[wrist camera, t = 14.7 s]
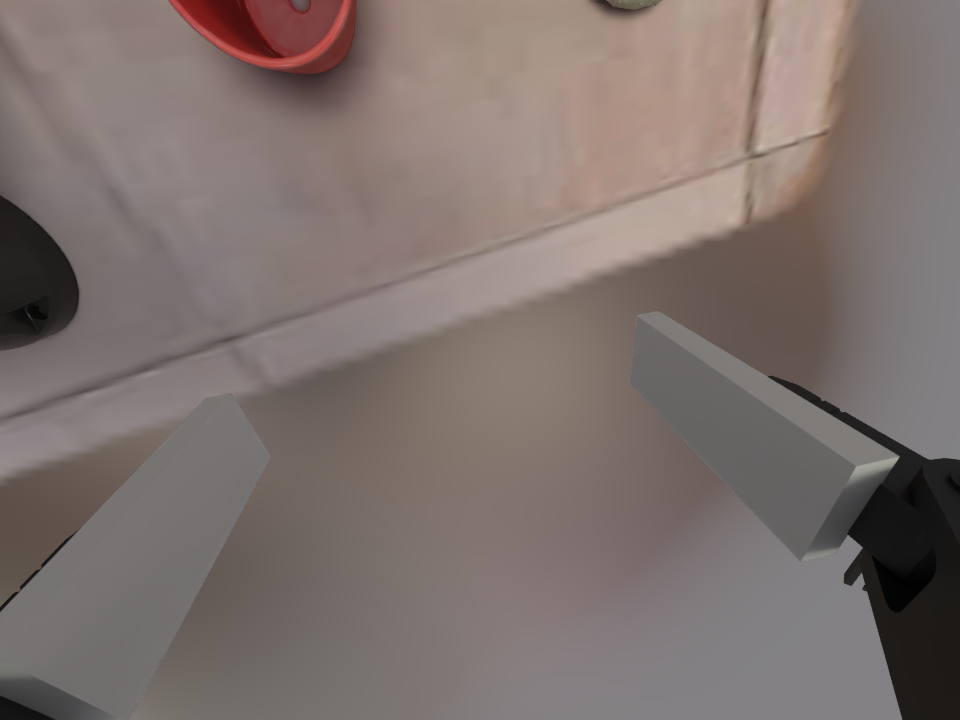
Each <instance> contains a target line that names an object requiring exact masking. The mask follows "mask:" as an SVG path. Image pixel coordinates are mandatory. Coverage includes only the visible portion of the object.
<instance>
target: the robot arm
mask: <svg viewBox="0 0 960 720" xmlns="http://www.w3.org/2000/svg"><path fill="white" fill-rule="evenodd" d="M76 306H77V287H76V283H75V279H74V276H73V273H72V271H71V269H70V267H69V265H68V263H67V261H66V259H65V258H64V256H63V254H62V253H61V252H60V250H59V249H58V247H57V246H56V245H55V243H54V242H53V241H52V240H51V239H50V238H49V236H48V235H47V234H46V233H45V232H44V231H43V230H42V229H41V228H40V227H39V226H38V225H37V224H36V223H35V222H34V221H32V220H31V219H30V218H29V217H28V216H27V215H25V214H24V213H23V212H22V211H20V210H19V209H18V208H16V207H15V206H13V205H12V204H11V203H9V202H8V201H6V200H5V199H3V198H2V197H0V351H2V350H9V349H14V348H19V347H22V346H26V345H29V344H32V343H34V342H36V341H39V340H41V339H43V338H46V337H48V336H50V335H52V334H54V333H56V332H58V331H60V330H61V329H62V328H64V327H65V326H66V325H67V324H68V323H69V321H70V320H71V319H72V317H73V315H74V313H75V310H76ZM630 385H631V386H632V387H633V388H634V389H635V390H636V391H637V392H638V393H639V394H640V395H641V396H642V398H644V400H645V401H646V402H647V403H648V404H649V405H650V406H651V407H652V408H653V409H654V410H655V411H656V412H657V413H658V414H659V415H660V416H661V417H662V418H663V419H664V420H665V421H666V422H667V424H668V425H669V426H670V427H671V428H672V429H673V430H674V431H675V432H676V433H677V434H678V435H679V436H680V437H681V438H682V439H683V440H684V441H685V442H686V443H687V444H688V445H689V446H690V447H691V448H692V449H693V451H694V452H695V453H696V454H697V455H698V456H699V457H700V458H701V459H702V460H703V461H704V462H705V463H706V464H707V465H708V466H709V467H710V468H711V469H712V470H713V471H714V472H715V473H716V474H717V476H718V477H719V478H720V479H721V480H723V482H724V483H725V484H726V485H727V486H728V487H729V488H730V489H731V490H732V491H733V492H734V493H735V494H736V495H737V496H738V497H739V498H740V499H741V500H742V501H743V503H744V504H745V505H746V506H747V507H748V508H749V509H750V510H751V511H752V512H753V513H754V514H755V515H756V516H757V517H758V518H759V519H760V520H761V521H762V522H763V523H764V524H765V525H766V526H767V527H768V529H769V530H771V532H772V533H773V534H774V535H775V536H776V537H777V538H778V539H779V540H780V541H781V542H782V543H783V544H784V545H785V546H786V547H787V548H788V549H789V550H790V551H791V552H792V554H794V556H795V557H796V558H797V559H798V560H799V561H800V562H802V561H806V560H810V559H814V558H818V557H822V556H827V555H831V554H835V553H836V552H837V550H838V549H839V547H840V546H841V544H842V543H843V541H844V540H845V538H846V537H847V535H849V536H850V537H851V538H853V539H854V540H855V541H856V542H857V543H858V544H860V545H861V546H862V547H863V549H862V550H861V551H860V553H859V554H858V555H857V557H856V558H855V560H854V561H853V563H852V564H851V565H850V566H849V568H848V569H847V571H846V572H845V574H844V583H845V584H847V585H850V586H852V584H853V583H854V582H855V580H856V579H857V578H858V576H859V575H860V574H861V573H862V574H863V578H864V582H865V585H864V587H863V590H864V591H867V593H868V596H869V600H870V603H871V607H872V611H873V614H874V618H875V621H876V625H877V629H878V632H879V636H880V640H881V644H882V647H883V651H884V654H885V658H886V662H887V665H888V669H889V673H890V676H891V680H892V684H893V687H894V691H895V695H896V698H897V702H898V705H899V709H900V713H901V716H902V720H960V460H956V459H948V458H942V459H934V460H929V459H927V458H924V457H923V456H921V455H919V454H917V453H916V452H914V451H912V450H910V449H909V448H907V447H905V446H903V445H902V444H900V443H898V442H896V441H895V440H893V439H891V438H889V437H888V436H886V435H884V434H882V433H881V432H879V431H877V430H876V429H874V428H872V427H870V426H869V425H867V424H865V423H863V422H862V421H860V420H858V419H856V418H855V417H853V416H851V415H849V414H848V413H846V412H841V411H840V409H839V408H837V407H835V406H834V405H832V404H830V403H828V402H826V401H821V398H819V397H818V396H816V395H814V394H813V393H811V392H809V391H808V390H806V389H804V388H802V387H800V386H799V385H796V384H793V383H791V382H788V381H785V380H782V379H779V378H777V377H774V376H768V377H767V376H765V375H763V374H762V373H760V372H758V371H757V370H755V369H753V368H752V367H750V366H748V365H747V364H745V363H743V362H742V361H740V360H738V359H737V358H735V357H733V356H732V355H730V354H728V353H727V352H725V351H723V350H722V349H720V348H718V347H717V346H715V345H713V344H712V343H710V342H708V341H707V340H705V339H703V338H702V337H700V336H698V335H697V334H695V333H694V332H692V331H690V330H689V329H687V328H685V327H684V326H682V325H680V324H678V323H677V322H675V321H674V320H672V319H670V318H669V317H667V316H665V315H664V314H662V313H660V312H659V311H657V312H651V313H647V314H641V315H636V321H635V331H634V342H633V352H632V362H631V373H630ZM270 458H271V456H270V455H269V453H268V451H267V450H266V448H265V447H264V445H263V444H262V442H261V440H260V439H259V437H258V435H257V434H256V432H255V431H254V429H253V427H252V426H251V424H250V423H249V421H248V420H247V418H246V416H245V415H244V413H243V411H242V410H241V408H240V407H239V405H238V403H237V402H236V400H235V399H234V397H233V395H232V394H231V393H230V394H225V395H220V396H215V397H210V398H206V399H205V400H204V401H203V402H202V403H201V404H200V405H199V406H198V407H197V408H196V409H195V410H194V411H193V412H192V413H191V414H190V415H189V416H188V417H187V418H186V419H185V421H184V422H183V423H182V424H181V425H180V426H179V427H178V428H177V429H176V430H175V431H174V432H173V433H172V434H171V435H170V436H169V437H168V438H167V439H166V440H165V441H164V443H162V444H161V445H160V447H159V448H158V449H157V450H156V451H155V452H154V453H153V454H152V455H151V456H150V457H149V458H148V459H147V460H146V461H145V462H144V463H143V464H142V465H141V466H140V467H139V468H138V470H136V471H135V473H134V474H133V475H132V476H131V477H130V478H129V479H128V480H127V481H126V482H125V483H124V484H123V485H122V486H121V487H120V488H119V489H118V490H117V491H116V492H115V493H114V494H113V495H112V496H111V498H110V499H109V500H108V501H107V502H106V503H105V504H104V505H103V506H102V507H101V508H100V509H99V510H98V511H97V512H96V513H95V514H94V516H92V517H91V518H90V520H89V521H88V522H87V523H85V525H84V526H83V527H82V528H80V529H79V530H78V531H77V532H75V533H74V534H73V535H71V536H70V537H69V538H67V539H66V540H65V541H64V542H63V543H62V544H61V545H60V546H59V547H58V548H57V549H56V550H55V551H54V552H53V553H52V554H51V555H50V556H49V557H48V558H47V560H46V561H45V562H44V563H43V564H42V565H41V566H42V567H41V569H40V570H36V571H35V572H34V573H33V574H32V575H31V576H30V577H29V578H28V579H27V580H26V581H25V582H24V583H23V584H22V585H21V586H20V591H19V592H15V593H14V594H12V596H11V597H10V598H9V599H8V600H7V601H6V602H5V603H4V604H3V605H2V606H1V607H0V720H130V718H131V716H132V714H133V713H134V711H135V709H136V707H137V705H138V703H139V701H140V700H141V698H142V696H143V694H144V692H145V690H146V688H147V686H148V685H149V683H150V681H151V679H152V677H153V675H154V674H155V672H156V670H157V668H158V666H159V664H160V662H161V660H162V658H163V657H164V655H165V653H166V651H167V649H168V647H169V646H170V644H171V642H172V640H173V638H174V636H175V634H176V633H177V631H178V629H179V627H180V625H181V623H182V621H183V619H184V618H185V616H186V614H187V612H188V610H189V608H190V606H191V605H192V603H193V601H194V599H195V597H196V595H197V593H198V592H199V590H200V588H201V586H202V584H203V582H204V580H205V579H206V576H207V575H208V573H209V571H210V569H211V567H212V566H213V564H214V562H215V560H216V558H217V556H218V554H219V552H220V551H221V549H222V547H223V545H224V543H225V541H226V539H227V537H228V536H229V534H230V532H231V530H232V528H233V526H234V524H235V523H236V521H237V519H238V517H239V515H240V513H241V512H242V509H243V508H244V506H245V504H246V502H247V500H248V499H249V497H250V495H251V493H252V491H253V489H254V487H255V485H256V484H257V482H258V480H259V478H260V476H261V474H262V472H263V471H264V469H265V467H266V465H267V463H268V461H269V459H270Z"/></svg>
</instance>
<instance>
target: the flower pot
mask: <svg viewBox="0 0 960 720" xmlns="http://www.w3.org/2000/svg"><path fill="white" fill-rule="evenodd" d="M168 1H169V2H170V4H171V5H172V6H173V7H174V8H175V10H176V11H177V12H178V13H179V14H180V15H181V16H182V18H183V19H184V20H185V21H186V22H187V23H188V24H189V25H190V26H191V27H192V28H193V29H194V30H196V31H197V32H198V33H199V34H200V35H201V36H202V37H204V38H205V39H206V40H208V41H209V42H210V43H211V44H213V45H214V46H216V47H217V48H219V49H220V50H222V51H223V52H225V53H227V54H228V55H230V56H232V57H234V58H236V59H238V60H240V61H243V62H246V63H248V64H251V65H254V66H257V67H261V68H265V69H269V70H274V71H281V72H288V73H296V74H312V73H321V72H325V71H328V70H330V69H332V68H333V67H335V66H336V65H338V64H339V63H340V62H341V61H342V60H343V58H344V57H345V56H346V54H347V52H348V50H349V48H350V46H351V43H352V39H353V34H354V27H355V15H356V0H168Z"/></svg>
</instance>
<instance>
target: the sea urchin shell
mask: <svg viewBox="0 0 960 720" xmlns="http://www.w3.org/2000/svg"><path fill="white" fill-rule="evenodd" d="M606 1H607V2H609V3H610V4H611V5H612V6H613V7H618V8H624V9H631V10H637V9H639V8H642V7H643V8H644V7H649V6H653V5H656V4H657V3H658V2H660V1H661V0H606Z"/></svg>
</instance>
